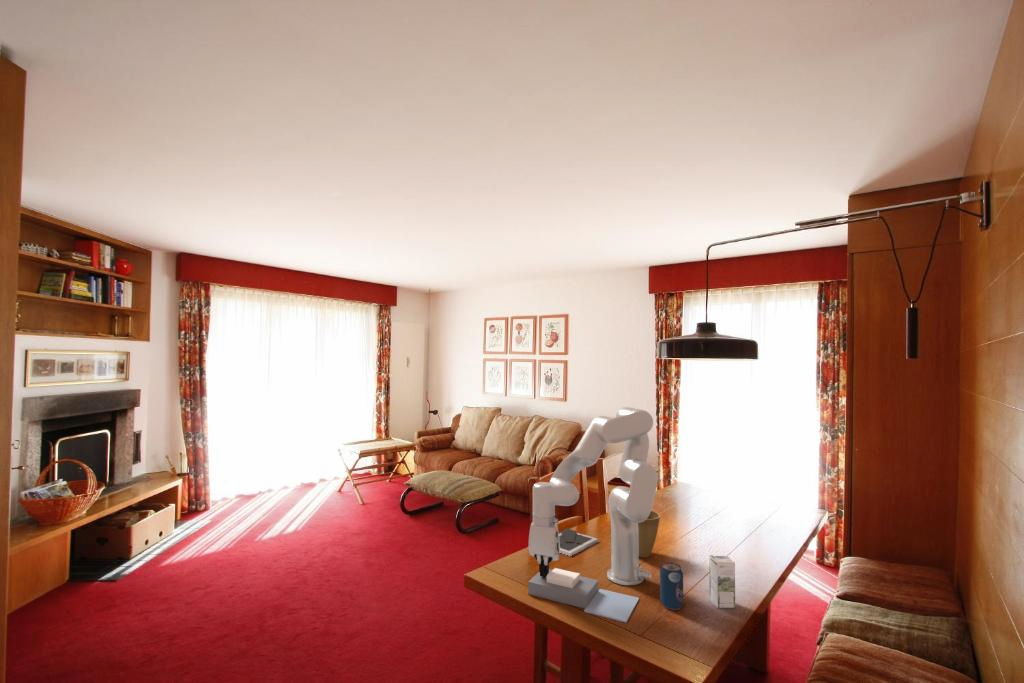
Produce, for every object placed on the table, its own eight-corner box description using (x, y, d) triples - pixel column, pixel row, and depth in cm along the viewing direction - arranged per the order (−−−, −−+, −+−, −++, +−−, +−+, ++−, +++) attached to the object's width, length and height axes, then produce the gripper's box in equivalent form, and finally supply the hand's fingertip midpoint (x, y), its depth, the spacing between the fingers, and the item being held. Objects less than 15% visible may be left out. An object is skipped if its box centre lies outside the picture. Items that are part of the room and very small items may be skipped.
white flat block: (579, 579, 158) (579, 573, 158) (572, 588, 152) (572, 581, 152) (554, 573, 162) (554, 568, 162) (546, 582, 156) (546, 576, 156)
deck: (598, 592, 157) (598, 580, 158) (586, 608, 147) (586, 595, 147) (543, 579, 167) (543, 567, 167) (528, 594, 156) (528, 581, 156)
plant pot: (657, 564, 179) (657, 521, 180) (618, 557, 186) (617, 516, 186) (662, 550, 193) (662, 510, 194) (625, 544, 199) (625, 506, 200)
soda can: (683, 612, 145) (682, 572, 145) (659, 608, 147) (658, 568, 148) (683, 602, 151) (683, 563, 152) (661, 598, 154) (660, 560, 154)
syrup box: (726, 599, 153) (725, 553, 153) (736, 609, 147) (735, 561, 147) (709, 600, 152) (708, 554, 153) (718, 609, 146) (717, 561, 147)
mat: (639, 599, 153) (639, 597, 153) (626, 622, 139) (626, 621, 139) (600, 590, 159) (600, 588, 159) (583, 611, 145) (583, 610, 145)
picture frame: (567, 534, 213) (538, 548, 197) (567, 528, 213) (538, 541, 197) (597, 543, 202) (570, 558, 187) (597, 536, 202) (570, 551, 187)
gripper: (568, 520, 161) (568, 575, 160) (529, 513, 168) (529, 566, 167) (559, 527, 154) (560, 584, 154) (519, 520, 162) (519, 575, 161)
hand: (544, 575), depth 160 cm, fingers closed
